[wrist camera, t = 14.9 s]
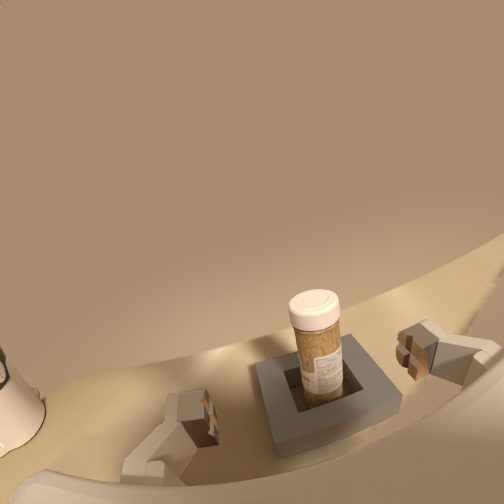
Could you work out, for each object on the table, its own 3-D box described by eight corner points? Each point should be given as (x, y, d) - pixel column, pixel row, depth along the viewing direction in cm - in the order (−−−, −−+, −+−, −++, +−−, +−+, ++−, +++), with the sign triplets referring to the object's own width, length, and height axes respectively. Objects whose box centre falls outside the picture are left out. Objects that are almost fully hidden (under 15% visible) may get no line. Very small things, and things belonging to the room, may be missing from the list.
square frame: (279, 457, 20) (273, 442, 19) (259, 379, 33) (254, 362, 32) (398, 412, 21) (402, 393, 20) (351, 350, 34) (350, 332, 33)
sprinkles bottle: (300, 393, 29) (282, 295, 25) (336, 381, 29) (327, 282, 25) (311, 419, 24) (294, 318, 21) (350, 405, 24) (347, 302, 21)
